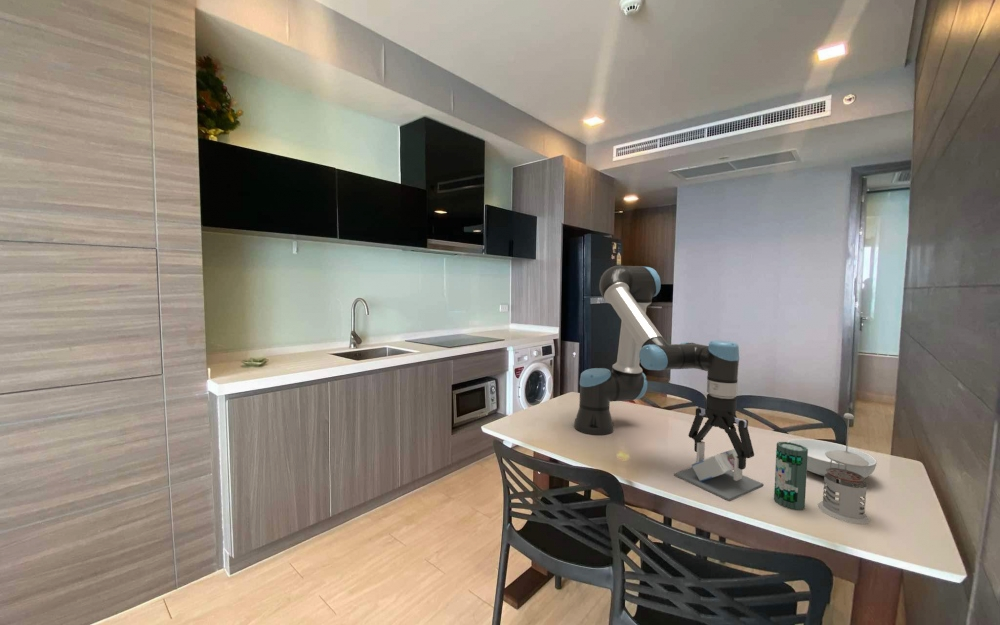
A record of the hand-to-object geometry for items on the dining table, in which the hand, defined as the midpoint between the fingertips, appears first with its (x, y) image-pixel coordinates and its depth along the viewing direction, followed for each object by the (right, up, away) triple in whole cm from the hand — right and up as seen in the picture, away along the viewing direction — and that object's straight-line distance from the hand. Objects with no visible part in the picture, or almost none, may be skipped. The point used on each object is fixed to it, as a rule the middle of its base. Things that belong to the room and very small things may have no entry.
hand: (718, 471), depth 110 cm
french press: (+23, -4, -14) cm, 27 cm away
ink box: (-6, +2, -4) cm, 7 cm away
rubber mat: (0, -3, 0) cm, 3 cm away
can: (+12, -4, -12) cm, 17 cm away
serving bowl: (+37, -3, +6) cm, 38 cm away
